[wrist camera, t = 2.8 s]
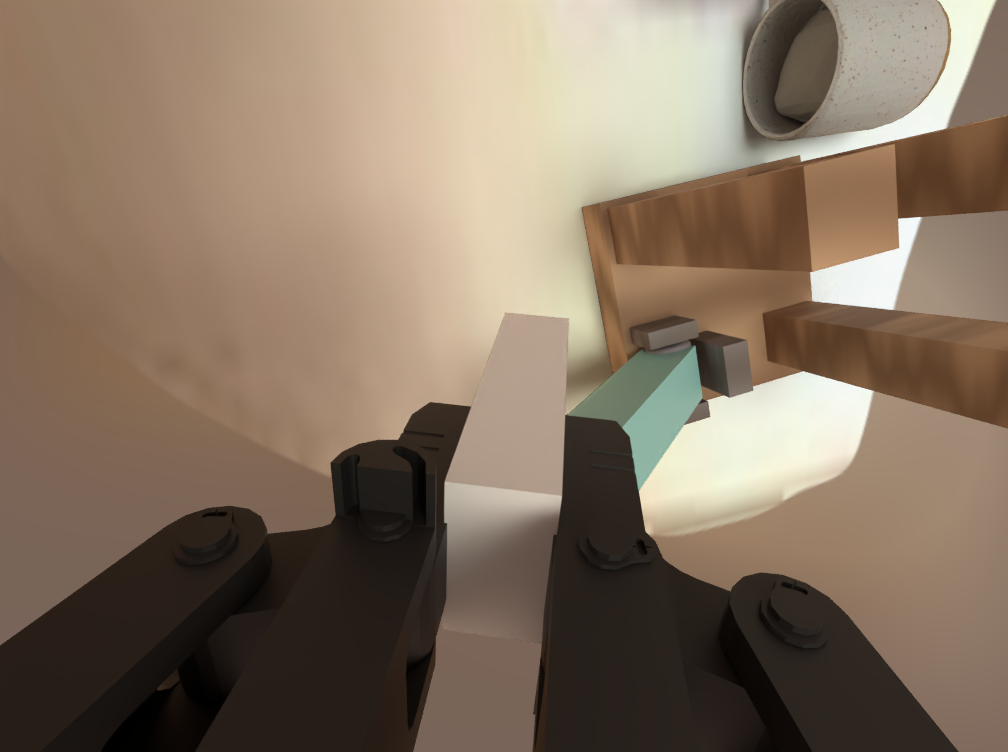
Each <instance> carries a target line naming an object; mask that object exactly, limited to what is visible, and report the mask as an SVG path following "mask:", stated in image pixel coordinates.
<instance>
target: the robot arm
mask: <svg viewBox="0 0 1008 752" xmlns="http://www.w3.org/2000/svg"><path fill="white" fill-rule="evenodd" d="M568 327H569V319H566V318H555V317H545V316H534V315H524V314H513V313H505V315H504V317H503V320H502V323H501V326H500V328H499V331H498V334H497V337H496V340H495V342H494V345H493V348H492V351H491V354H490V356H489V359H488V362H487V365H486V367H485V370H484V373H483V376H482V379H481V381H480V384H479V387H478V390H477V393H476V395H475V398H474V401H473V404H472V407H469V406H460V405H451V404H442V403H433V402H430V403H428V404H427V405H425V406H424V407H422V408H421V409H419V410H418V411H417V412H415V413H414V414H412V416H411V418H410V419H409V421H408V423H407V425H406V427H405V429H404V432H403V433H402V434H401V436H400V438H399V440H376V441H371V442H366V443H361V444H358V445H356V446H354V447H352V448H349V449H347V450H345V451H343V452H342V453H340V454H339V455H338V456H337V457H336V458H335V459H334V460H333V461H332V462H331V473H332V482H333V492H334V502H335V512H336V516H335V517H334V519H333V521H332V523H331V524H329V525H326V526H323V527H319V528H313V529H308V530H300V531H291V532H281V533H273V534H267V528H266V526H265V524H264V522H263V519H262V517H261V516H259V515H258V514H256V513H254V512H253V511H251V510H249V509H246V508H239V507H234V506H224V507H216V508H215V507H214V508H207V509H204V510H201V511H198V512H194V513H191V514H188V515H186V516H184V517H182V518H180V519H178V520H177V521H175V522H173V523H171V524H169V525H168V526H166V527H165V528H163V529H162V530H160V531H159V532H158V533H156V534H155V535H153V536H152V537H151V538H149V539H148V540H146V541H145V542H144V543H142V544H141V545H139V546H138V547H137V548H135V549H134V550H132V551H131V552H130V553H128V554H127V555H126V556H124V557H123V558H121V559H120V560H119V561H117V562H116V563H115V564H113V565H112V566H110V567H109V568H107V569H106V570H105V571H103V572H102V573H101V574H99V575H98V576H96V577H95V578H94V579H92V580H91V581H90V582H88V583H87V584H85V585H84V586H82V587H81V588H80V589H78V590H77V591H75V592H74V593H73V594H71V595H70V596H69V597H67V598H66V599H64V600H63V601H62V602H60V603H59V604H57V605H56V606H55V607H53V608H52V609H51V610H49V611H48V612H46V613H45V614H43V615H42V616H41V617H39V618H38V619H36V620H35V621H34V622H33V623H31V624H30V625H28V626H27V627H25V628H24V629H23V630H21V631H20V632H18V633H17V634H16V635H14V636H13V637H11V638H10V639H9V640H7V641H6V642H4V643H3V644H2V645H1V646H0V752H413V750H414V746H415V742H416V738H417V734H418V730H419V726H420V722H421V719H422V715H423V710H424V706H425V703H426V698H427V695H428V691H429V687H430V683H431V679H432V675H433V671H434V667H435V657H436V635H437V632H438V628H439V624H440V621H441V617H442V613H443V629H445V630H451V631H458V632H465V633H473V634H479V635H486V636H493V637H500V638H507V639H513V640H521V641H527V642H534V643H541V644H542V648H541V658H540V666H539V674H538V682H537V689H536V697H535V705H534V712H533V714H535V726H534V740H533V752H958V750H957V749H956V748H955V747H954V746H953V744H952V743H951V742H950V741H949V739H948V738H947V737H946V736H945V734H944V733H943V732H942V731H941V730H940V728H939V727H938V726H937V725H936V723H935V722H934V721H933V720H932V718H931V717H930V716H929V715H928V714H927V712H926V711H925V710H924V709H923V708H922V706H921V705H920V704H919V702H918V701H917V700H916V699H915V698H914V696H913V695H912V694H911V693H910V691H909V690H908V689H907V688H906V687H905V685H904V684H903V683H902V682H901V680H900V679H899V678H898V677H897V676H896V674H895V673H894V672H893V670H892V669H891V668H890V667H889V666H888V664H887V663H886V662H885V661H884V660H883V658H882V657H881V656H880V654H879V653H878V652H877V651H876V650H875V648H874V647H873V646H872V645H871V644H870V642H869V641H868V640H867V638H866V637H865V636H864V635H863V634H862V633H861V631H860V630H859V629H858V627H857V626H856V625H855V624H854V622H853V621H852V620H851V619H850V617H849V616H848V615H847V614H846V613H845V612H844V611H843V610H842V609H841V608H840V607H839V606H837V605H836V604H835V603H834V602H833V601H832V600H831V599H830V598H829V597H828V596H826V595H824V594H823V593H821V592H819V591H818V590H816V589H815V588H813V587H811V586H810V585H808V584H806V583H804V582H801V581H798V580H796V579H792V578H790V577H787V576H784V575H779V574H769V573H757V574H753V575H749V576H745V577H743V578H742V579H741V580H739V581H738V582H737V583H736V584H735V585H734V586H733V587H732V589H731V592H730V591H727V590H725V589H722V588H720V587H717V586H714V585H712V584H709V583H706V582H704V581H701V580H698V579H696V578H694V577H692V576H690V575H688V574H685V573H683V572H681V571H679V570H678V569H677V568H675V567H674V566H672V565H670V564H669V563H668V562H666V561H665V560H664V559H663V558H662V555H661V553H660V551H659V548H658V546H657V544H656V542H655V541H654V540H653V539H652V538H651V537H650V536H649V535H648V534H647V533H646V531H645V527H644V521H643V515H642V509H641V502H640V496H639V490H638V484H637V478H636V473H635V466H634V460H633V458H632V455H633V454H632V448H631V442H630V437H629V435H628V434H627V433H626V432H625V431H624V429H623V428H622V427H621V426H620V425H619V424H618V422H617V421H614V420H605V419H596V418H587V417H578V416H569V415H565V405H566V379H567V353H568Z"/></svg>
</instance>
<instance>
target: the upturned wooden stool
mask: <svg viewBox="0 0 1008 752" xmlns="http://www.w3.org/2000/svg"><path fill="white" fill-rule="evenodd" d="M1007 210H1008V115H1005V116H1000V117H996V118H991V119H987V120H982V121H978V122H974V123H970V124H965V125H961V126H956V127H952V128H947V129H943V130H939V131H934V132H930V133H926V134H921V135H917V136H912V137H908V138H904V139H899V140H895V141H891V142H886V143H882V144H877V145H873V146H869V147H864V148H860V149H856V150H851V151H847V152H842V153H838V154H834V155H829V156H825V157H821V158H816V159H812V160H808V161H803V162H801V160H800V155H798V156H794V157H790V158H786V159H782V160H777V161H773V162H769V163H765V164H761V165H757V166H752V167H748V168H744V169H740V170H736V171H732V172H727V173H723V174H719V175H715V176H711V177H707V178H702V179H698V180H694V181H690V182H686V183H682V184H677V185H673V186H669V187H665V188H661V189H656V190H652V191H648V192H644V193H640V194H636V195H631V196H627V197H623V198H619V199H615V200H611V201H606V202H602V203H598V204H594V205H590V206H586V207H582V211H583V216H584V222H585V227H586V233H587V238H588V243H589V249H590V254H591V260H592V265H593V270H594V276H595V281H596V286H597V292H598V297H599V303H600V308H601V313H602V319H603V324H604V329H605V335H606V340H607V346H608V351H609V356H610V362H611V367H612V372H613V374H614V373H615V372H616V371H617V370H619V369H620V368H621V367H622V366H623V365H624V364H625V363H627V362H628V361H629V360H630V359H631V358H632V357H633V356H634V355H636V354H637V353H638V352H639V351H640V350H641V349H645V348H646V349H649V350H654V349H657V348H661V347H664V346H668V345H672V344H675V343H679V342H682V341H686V340H689V341H690V343H691V346H694V345H695V347H696V354H697V361H698V368H699V375H700V382H701V389H702V396H703V398H702V399H701V401H700V402H699V403H698V405H697V406H696V408H695V409H694V411H693V412H692V414H691V415H690V417H689V418H688V420H687V421H686V422H685V424H684V425H686V424H689V423H692V422H695V421H699V420H702V419H705V418H708V417H710V412H709V405H708V401H706V400H709V399H713V398H716V397H719V396H723V395H725V396H727V397H729V398H730V397H733V396H736V395H740V394H743V393H746V392H750V391H753V386H756V385H759V384H762V383H766V382H769V381H772V380H776V379H779V378H782V377H785V376H789V375H792V374H795V373H799V372H802V371H805V372H808V373H812V374H816V375H819V376H823V377H826V378H830V379H833V380H837V381H841V382H844V383H848V384H851V385H855V386H858V387H862V388H865V389H869V390H873V391H876V392H880V393H883V394H887V395H891V396H894V397H898V398H901V399H905V400H908V401H912V402H915V403H919V404H922V405H926V406H930V407H933V408H937V409H940V410H944V411H948V412H951V413H954V414H958V415H962V416H965V417H969V418H972V419H976V420H980V421H983V422H987V423H990V424H994V425H997V426H1001V427H1004V428H1008V323H1004V322H996V321H987V320H977V319H969V318H959V317H950V316H941V315H932V314H922V313H914V312H913V313H912V312H904V311H895V310H886V309H877V308H868V307H859V306H849V305H840V304H831V303H822V302H813V301H812V292H811V280H810V272H813V271H817V270H821V269H824V268H828V267H832V266H835V265H839V264H842V263H846V262H850V261H853V260H857V259H861V258H864V257H868V256H872V255H875V254H879V253H883V252H886V251H890V250H893V249H897V248H899V233H898V218H912V217H925V216H938V215H952V214H966V213H979V212H994V211H1007Z"/></svg>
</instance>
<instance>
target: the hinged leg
mask: <svg viewBox="0 0 1008 752" xmlns="http://www.w3.org/2000/svg"><path fill="white" fill-rule="evenodd" d="M702 398H703V396H702V389H701V382H700V375H699V368H698V361H697V354H696V347H695V345H694V346H691V343H690V341H689V340H686V341H682V342H679V343H675V344H672V345H668V346H664V347H661V348H657V349H654V350H649V349H646V348H645V349H641V350H640V351H639V352H638V353H637V354H636V355H634V356H633V357H632V358H631V359H630V360H629V361H628V362H627V363H625V364H624V365H623V366H622V367H621V368H620V369H619V370H617V371H616V372H615V373H614V374H613V375H612V376H611V377H610V378H608V379H607V380H606V381H605V382H604V383H603V384H602V385H601V386H599V387H598V388H597V389H596V390H595V391H594V392H593V393H592V394H590V395H589V396H588V397H587V398H586V399H585V400H584V401H582V402H581V403H580V404H579V405H578V406H577V407H576V408H575V409H573V410H572V411H571V412H570V413H569V414H568V415H569V416H578V417H587V418H596V419H605V420H614V421H617V422H618V424H619V425H620V426H621V427H622V428H623V429H624V431H625V432H626V433H627V434H628V435H629V437H630V442H631V448H632V454H633V455H632V458H633V460H634V466H635V473H636V478H637V484H638V490H640V488H641V487H642V485H643V484H644V482H645V481H646V480H647V478H648V477H649V475H650V474H651V472H652V471H653V469H654V468H655V466H656V465H657V463H658V462H659V461H660V459H661V458H662V456H663V455H664V453H665V452H666V450H667V449H668V447H669V446H670V444H671V443H672V442H673V440H674V439H675V437H676V436H677V434H678V433H679V431H680V430H681V428H682V427H683V425H684V424H685V422H686V421H687V420H688V418H689V417H690V415H691V414H692V412H693V411H694V409H695V408H696V406H697V405H698V403H699V402H700V401H701V399H702Z"/></svg>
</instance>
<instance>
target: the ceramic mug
mask: <svg viewBox="0 0 1008 752" xmlns="http://www.w3.org/2000/svg"><path fill="white" fill-rule="evenodd" d="M950 43H951V28H950V23H949V18H948V15H947V13H946V12H945V10H944V8H943V7H942V5H941V3H940V2H939V1H937V0H769V9H768V11H767V12H766V13H765V15H764V17H763V18H762V20H761V21H760V23H759V24H758V27H757V29H756V31H755V33H754V35H753V37H752V40H751V43H750V46H749V49H748V52H747V56H746V61H745V67H744V75H743V97H744V104H745V108H746V112H747V115H748V118H749V119H750V121H751V123H752V125H753V127H754V128H755V129H756V130H757V131H758V132H759V133H760V134H761V135H763V136H764V137H766V138H769V139H772V140H776V141H786V140H794V139H801V138H808V137H816V136H824V135H831V134H837V133H845V132H853V131H862V130H869V129H874V128H877V127H880V126H883V125H886V124H889V123H892V122H894V121H896V120H898V119H900V118H902V117H904V116H905V115H907V114H909V113H910V112H911V111H913V110H914V109H915V108H916V107H918V106H919V105H920V104H921V103H922V102H923V101H924V99H925V98H926V97H927V96H928V95H929V93H930V92H931V91H932V89H933V88H934V87H935V85H936V84H937V82H938V80H939V78H940V76H941V74H942V72H943V70H944V68H945V65H946V62H947V58H948V55H949V50H950Z"/></svg>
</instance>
